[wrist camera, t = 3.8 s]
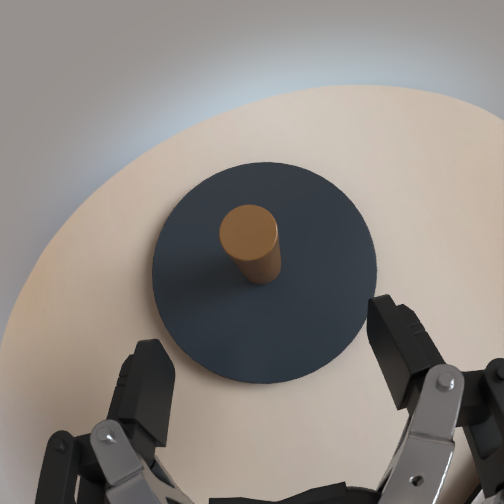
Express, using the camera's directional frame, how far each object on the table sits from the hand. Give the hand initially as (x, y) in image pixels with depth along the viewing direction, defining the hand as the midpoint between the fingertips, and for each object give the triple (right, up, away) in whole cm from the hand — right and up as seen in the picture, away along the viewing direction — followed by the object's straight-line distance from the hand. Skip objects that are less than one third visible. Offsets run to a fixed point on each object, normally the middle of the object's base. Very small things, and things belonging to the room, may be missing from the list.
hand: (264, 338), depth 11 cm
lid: (0, +2, +10) cm, 10 cm away
